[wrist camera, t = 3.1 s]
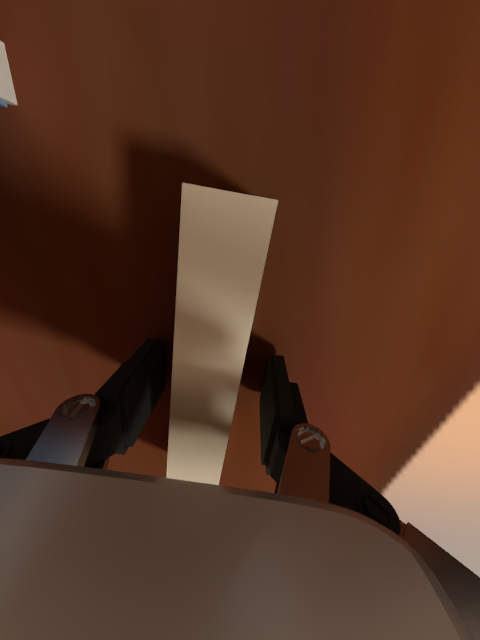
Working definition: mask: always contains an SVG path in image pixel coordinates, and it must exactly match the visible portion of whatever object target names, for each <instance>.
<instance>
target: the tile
mask: <svg viewBox="0 0 480 640" xmlns="http://www.w3.org/2000/svg"><path fill="white" fill-rule="evenodd" d="M7 104H11V105H17V101H16V96H15V91H14V87H13V82H12V78H11V73H10V69H9V64H8V59H7V55H6V50H5V46H4V43H3V42H1V41H0V107H8V106H7Z"/></svg>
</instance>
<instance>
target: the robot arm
mask: <svg viewBox="0 0 480 640" xmlns="http://www.w3.org/2000/svg"><path fill="white" fill-rule="evenodd" d="M164 387H165V363H164V343H161V340H159V339H151V338H149V339H147V340H146V342H145V343H144V344H143V345H142V346H141V347H140V348H139V349H138V350H137V351H136V352H135V354H134V355H133V356H132V357H131V358H130V359H129V360H128V361H125V362H124V363H123V364H122V365H121V366H120V368H119V369H118V370H117V371H116V372H115V373H114V374H113V375H112V376H111V377H110V378H109V379H108V380H107V382H106V383H105V384H104V385H103V386H102V387H101V388H100V389H99V390H98V391H97V392H96V393H95V395H92V394H82V395H77V396H74V397H71V398H69V399H67V400H65V401H64V402H63V403H61V404H60V405H59V406H58V407H57V409H56V410H55V412H54V413H53V415H52V417H51V418H50V419H47V420H44V421H42V422H39V423H36V424H33V425H31V426H28V427H25V428H22V429H20V430H17V431H14V432H12V433H9V434H6V435H3V436H1V437H0V640H480V577H478V576H477V575H476V574H474V573H473V572H472V571H471V570H469V569H468V568H467V567H466V566H464V565H463V564H462V563H460V562H459V561H458V560H457V559H455V558H454V557H453V556H451V555H450V554H449V553H448V552H446V551H445V550H444V549H442V548H441V547H440V546H439V545H437V544H436V543H435V542H433V541H432V540H431V539H430V538H428V537H427V536H426V535H424V534H423V533H422V532H420V531H419V530H418V529H417V528H415V527H414V526H413V525H412V524H410V523H409V522H408V523H407V524H404V523H403V522H402V521H401V520H399V517H398V515H397V513H396V511H395V509H394V508H393V507H392V505H391V504H390V503H389V502H388V501H387V499H386V498H384V497H383V496H382V495H381V494H380V493H379V492H378V491H376V490H375V489H374V488H373V487H372V486H370V485H369V484H368V483H367V482H365V481H364V480H363V479H362V478H361V477H359V476H358V475H357V474H356V473H355V472H353V471H352V470H351V469H350V468H349V467H347V466H346V465H345V464H344V463H342V462H341V461H340V460H339V459H338V458H336V457H335V456H334V455H333V454H332V453H330V442H329V440H328V438H327V436H326V435H325V434H324V432H323V431H321V430H320V429H319V428H318V427H316V426H314V425H311V424H308V421H307V418H306V414H305V410H304V406H303V402H302V399H301V395H300V391H299V387H298V384H297V383H291V382H289V379H288V374H287V370H286V365H285V360H284V356H279V355H272V357H268V361H267V366H266V371H265V376H264V381H263V386H262V391H261V396H260V431H261V463H262V465H266V474H268V475H271V477H272V478H273V479H274V480H275V481H276V482H277V483H276V487H275V491H274V493H269V492H262V491H255V490H248V489H241V488H234V487H228V486H221V485H214V484H207V483H200V482H192V481H185V480H178V479H171V478H164V477H156V476H149V475H142V474H134V473H127V472H119V471H112V470H107V466H108V463H109V457H110V456H112V455H114V454H115V453H116V454H123V455H125V453H126V451H127V449H128V447H132V446H133V445H134V443H135V442H136V440H137V438H138V436H139V434H140V432H141V431H142V429H143V427H144V425H145V423H146V421H147V419H148V418H149V416H150V414H151V412H152V410H153V408H154V407H155V405H156V403H157V401H158V399H159V397H160V395H161V394H162V392H163V390H164Z"/></svg>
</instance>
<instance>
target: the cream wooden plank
mask: <svg viewBox="0 0 480 640" xmlns="http://www.w3.org/2000/svg"><path fill="white" fill-rule="evenodd" d="M277 204H278V200H274V199H268V198H263V197H258V196H252V195H247V194H241V193H236V192H231V191H225V190H220V189H214V188H209V187H204V186H198V185H193V184H187V183H182V196H181V214H180V233H179V252H178V271H177V289H176V308H175V327H174V346H173V364H172V383H171V402H170V420H169V439H168V458H167V477H166V478H171V479H178V480H185V481H192V482H200V483H207V484H214V485H219V480H220V475H221V471H222V466H223V461H224V456H225V451H226V447H227V442H228V437H229V432H230V428H231V423H232V418H233V413H234V409H235V404H236V399H237V394H238V390H239V385H240V380H241V375H242V370H243V366H244V361H245V356H246V351H247V347H248V342H249V337H250V332H251V328H252V323H253V318H254V313H255V309H256V304H257V299H258V294H259V289H260V285H261V280H262V275H263V270H264V266H265V261H266V256H267V251H268V247H269V242H270V237H271V232H272V227H273V223H274V218H275V213H276V208H277Z"/></svg>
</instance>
